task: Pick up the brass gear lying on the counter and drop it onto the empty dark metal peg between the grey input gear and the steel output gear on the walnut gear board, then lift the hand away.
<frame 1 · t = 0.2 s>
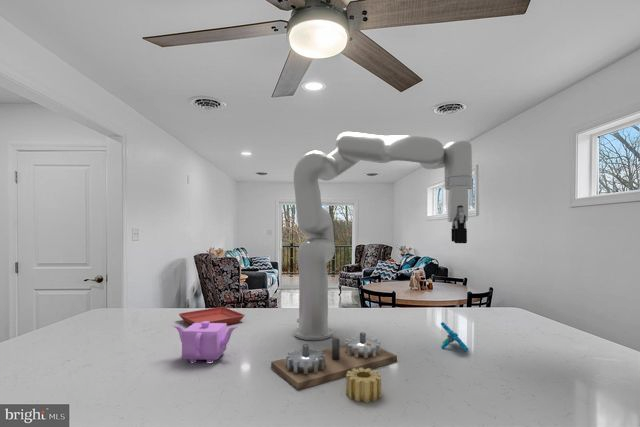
hand: (458, 242, 103), 31 cm above the kitchen island countertop, tool pointing down, fingers open, 9 cm apart
teapot: (205, 358, 95), on the kitchen island countertop
input gear: (305, 355, 86), point 4 cm above the kitchen island countertop, hinge at 0.0°
brass gear: (363, 393, 75), on the kitchen island countertop
gear board: (335, 364, 91), on the kitchen island countertop
gear: (454, 349, 103), on the kitchen island countertop
plant saucer: (211, 323, 130), on the kitchen island countertop
output gear: (362, 342, 96), point 4 cm above the kitchen island countertop, hinge at 0.0°
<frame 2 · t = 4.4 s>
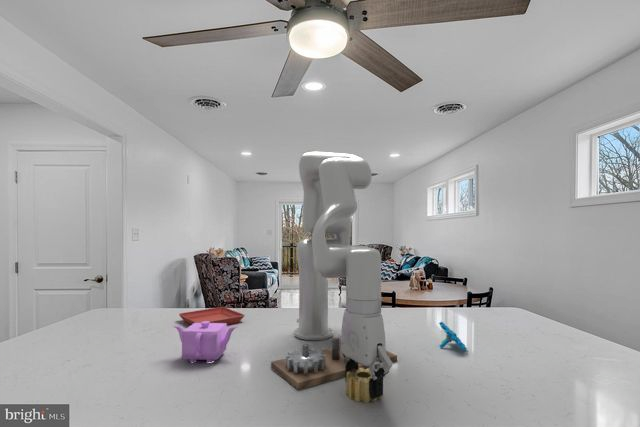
hand: (363, 388, 75), 1 cm above the kitchen island countertop, tool pointing down, fingers closed on brass gear, 7 cm apart
brass gear: (363, 393, 75), on the kitchen island countertop, touching gripper
everything else where it was.
when the fingers open (5 cm above the kitchen island countertop, at t = 10.6 s): brass gear drops 2 cm, resting on gear board.
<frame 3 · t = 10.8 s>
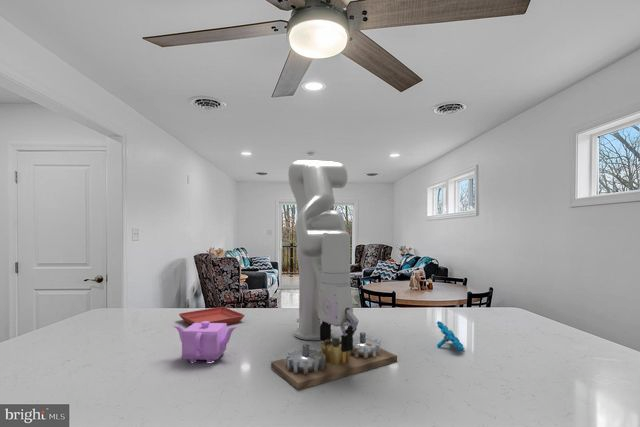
hand: (335, 345, 91), 5 cm above the kitchen island countertop, tool pointing down, fingers open, 9 cm apart
brass gear: (335, 358, 91), point 1 cm above the kitchen island countertop, touching gear board
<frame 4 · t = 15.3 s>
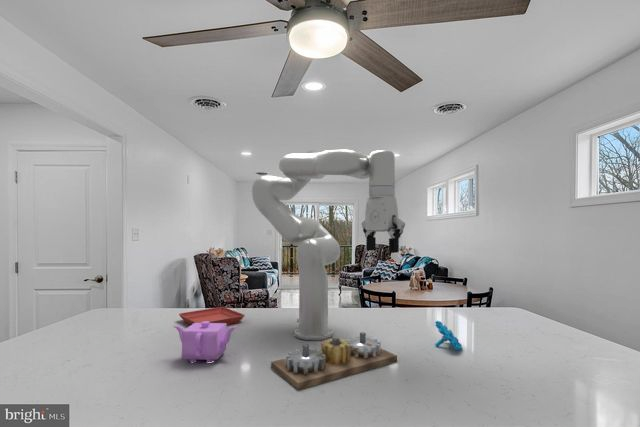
hand: (382, 251, 103), 28 cm above the kitchen island countertop, tool pointing down, fingers open, 9 cm apart
at the end: brass gear 0.0 cm from the gear board (horizontally); brass gear point 1.5 cm above the kitchen island countertop; the gripper is holding nothing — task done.
